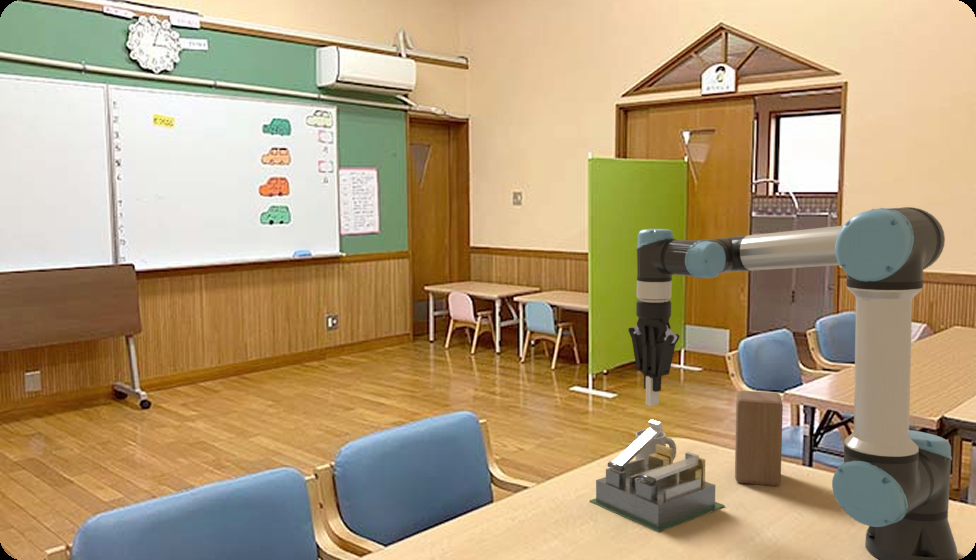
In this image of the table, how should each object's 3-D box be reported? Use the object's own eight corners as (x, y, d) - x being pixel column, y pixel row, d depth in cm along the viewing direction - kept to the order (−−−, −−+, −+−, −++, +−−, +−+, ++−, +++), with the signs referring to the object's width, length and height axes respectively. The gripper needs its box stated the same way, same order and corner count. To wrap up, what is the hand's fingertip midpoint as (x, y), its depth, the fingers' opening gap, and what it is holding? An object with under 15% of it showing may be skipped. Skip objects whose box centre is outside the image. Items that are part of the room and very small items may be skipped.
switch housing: (724, 506, 171) (725, 460, 170) (658, 532, 159) (659, 483, 158) (654, 480, 187) (655, 438, 186) (589, 501, 175) (589, 456, 174)
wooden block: (735, 483, 184) (736, 399, 182) (734, 469, 194) (736, 389, 192) (780, 487, 181) (783, 402, 179) (778, 472, 191) (780, 391, 189)
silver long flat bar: (665, 431, 177) (662, 422, 176) (621, 472, 169) (617, 464, 169) (652, 427, 180) (649, 418, 179) (608, 468, 172) (605, 459, 172)
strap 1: (700, 466, 171) (700, 455, 171) (651, 484, 162) (651, 473, 162) (686, 461, 174) (686, 451, 174) (638, 479, 165) (638, 468, 165)
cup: (632, 464, 198) (632, 430, 197) (672, 463, 199) (672, 428, 198) (639, 474, 191) (639, 439, 190) (680, 473, 191) (680, 437, 190)
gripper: (688, 301, 170) (686, 408, 173) (643, 294, 180) (641, 395, 183) (665, 304, 166) (663, 414, 168) (620, 297, 176) (618, 401, 179)
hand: (652, 404), depth 176 cm, fingers closed
